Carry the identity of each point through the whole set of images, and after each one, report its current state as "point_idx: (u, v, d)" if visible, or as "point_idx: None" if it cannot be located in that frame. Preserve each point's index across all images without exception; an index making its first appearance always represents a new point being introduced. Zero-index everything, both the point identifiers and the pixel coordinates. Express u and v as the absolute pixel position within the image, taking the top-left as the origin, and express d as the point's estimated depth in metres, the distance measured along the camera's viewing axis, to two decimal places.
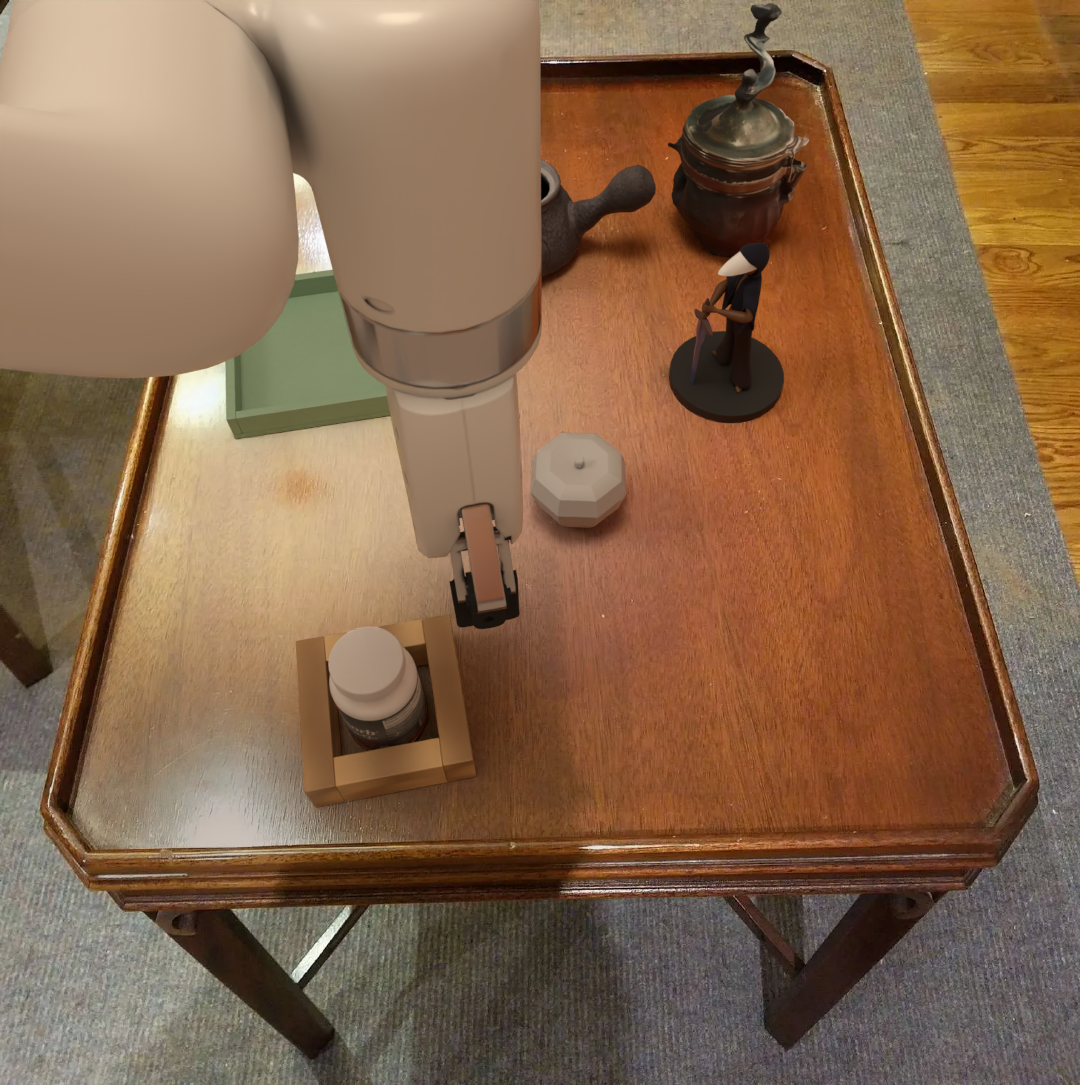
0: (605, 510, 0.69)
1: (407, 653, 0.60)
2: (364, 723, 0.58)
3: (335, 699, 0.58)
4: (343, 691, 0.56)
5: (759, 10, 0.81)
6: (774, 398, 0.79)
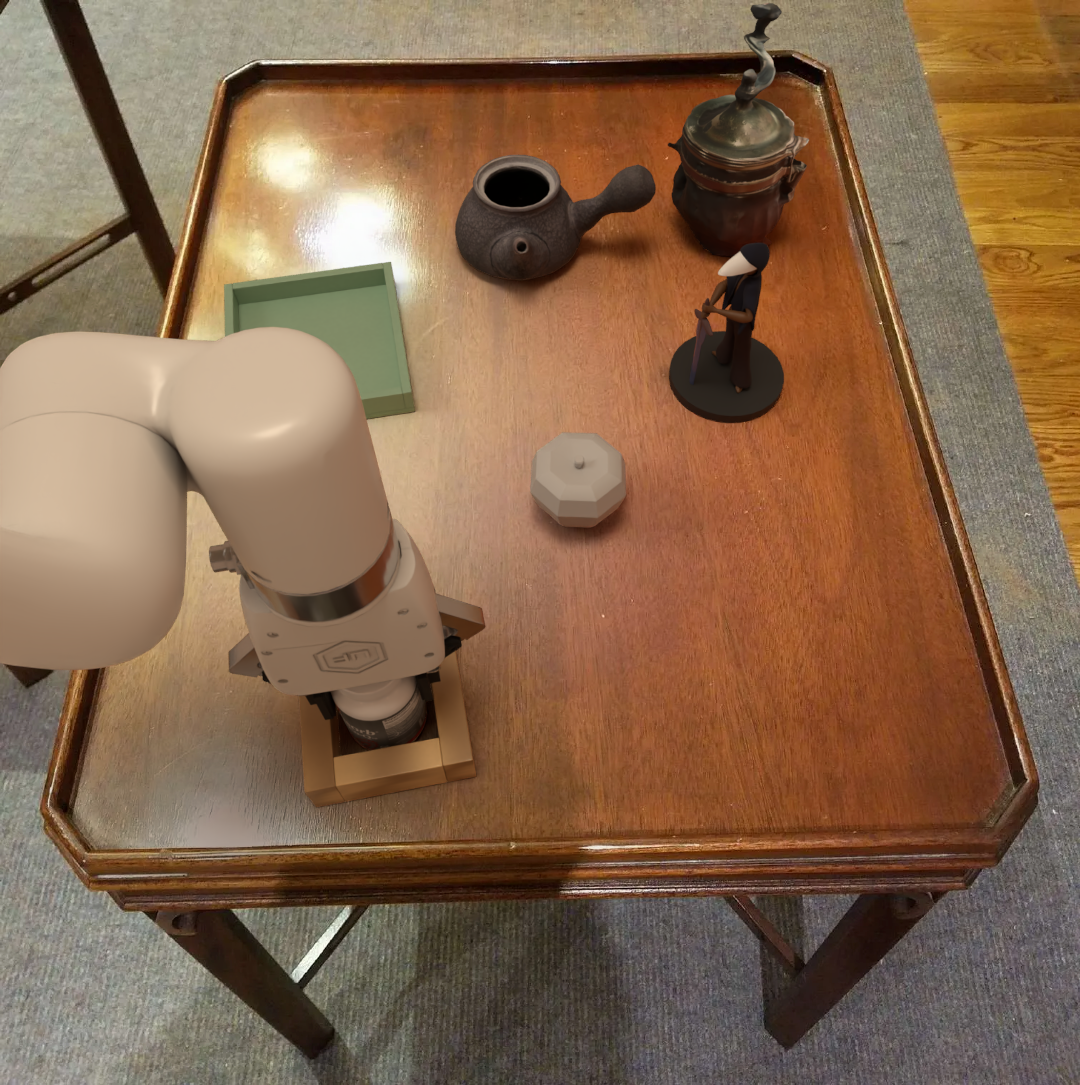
0: (605, 510, 0.69)
1: None
2: (364, 723, 0.58)
3: (335, 699, 0.58)
4: (343, 691, 0.56)
5: (759, 10, 0.81)
6: (774, 398, 0.79)
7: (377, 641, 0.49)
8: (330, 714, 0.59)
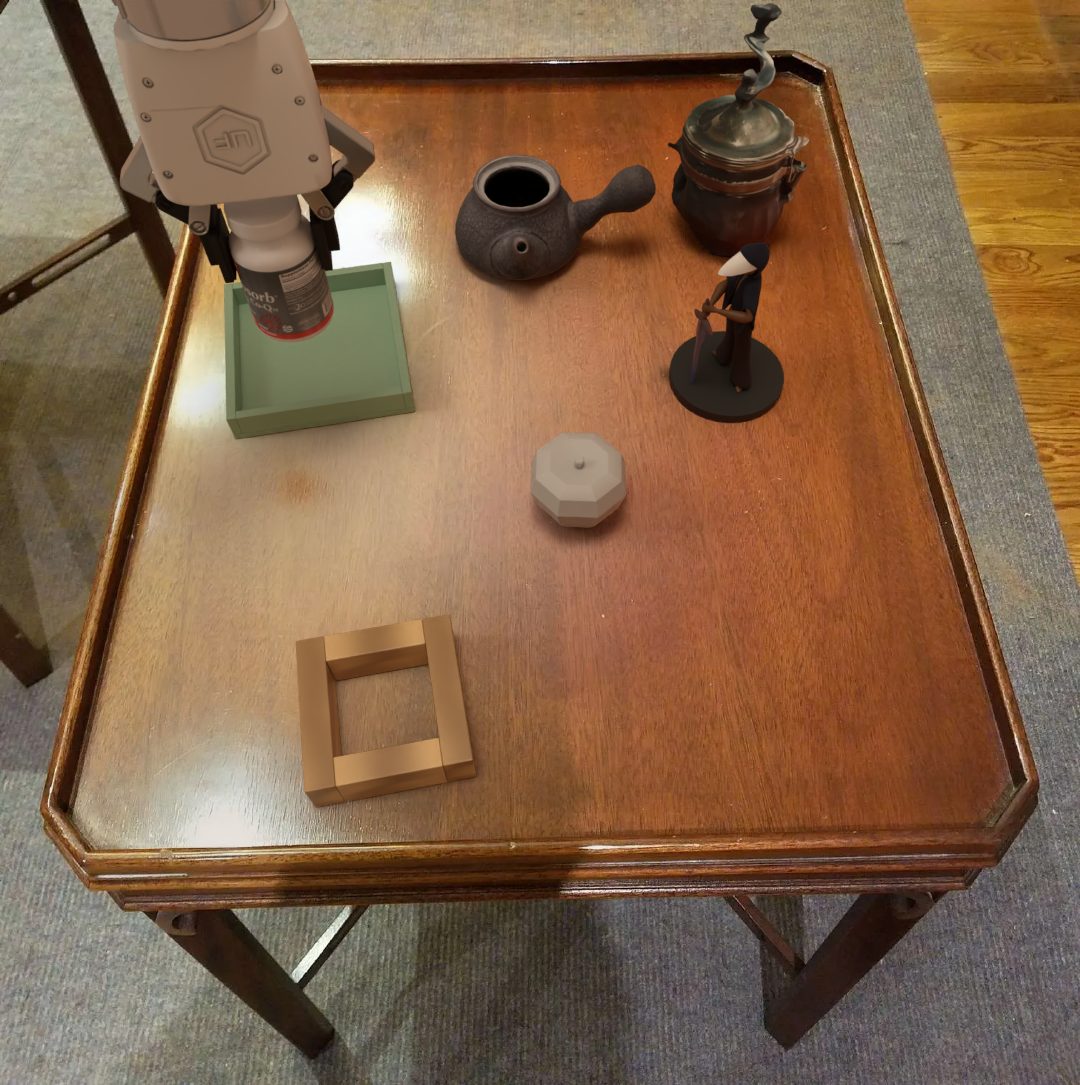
0: (605, 510, 0.69)
1: (306, 219, 0.61)
2: (261, 279, 0.59)
3: (232, 252, 0.59)
4: (236, 227, 0.57)
5: (759, 10, 0.81)
6: (774, 398, 0.79)
7: (256, 116, 0.50)
8: (229, 273, 0.60)
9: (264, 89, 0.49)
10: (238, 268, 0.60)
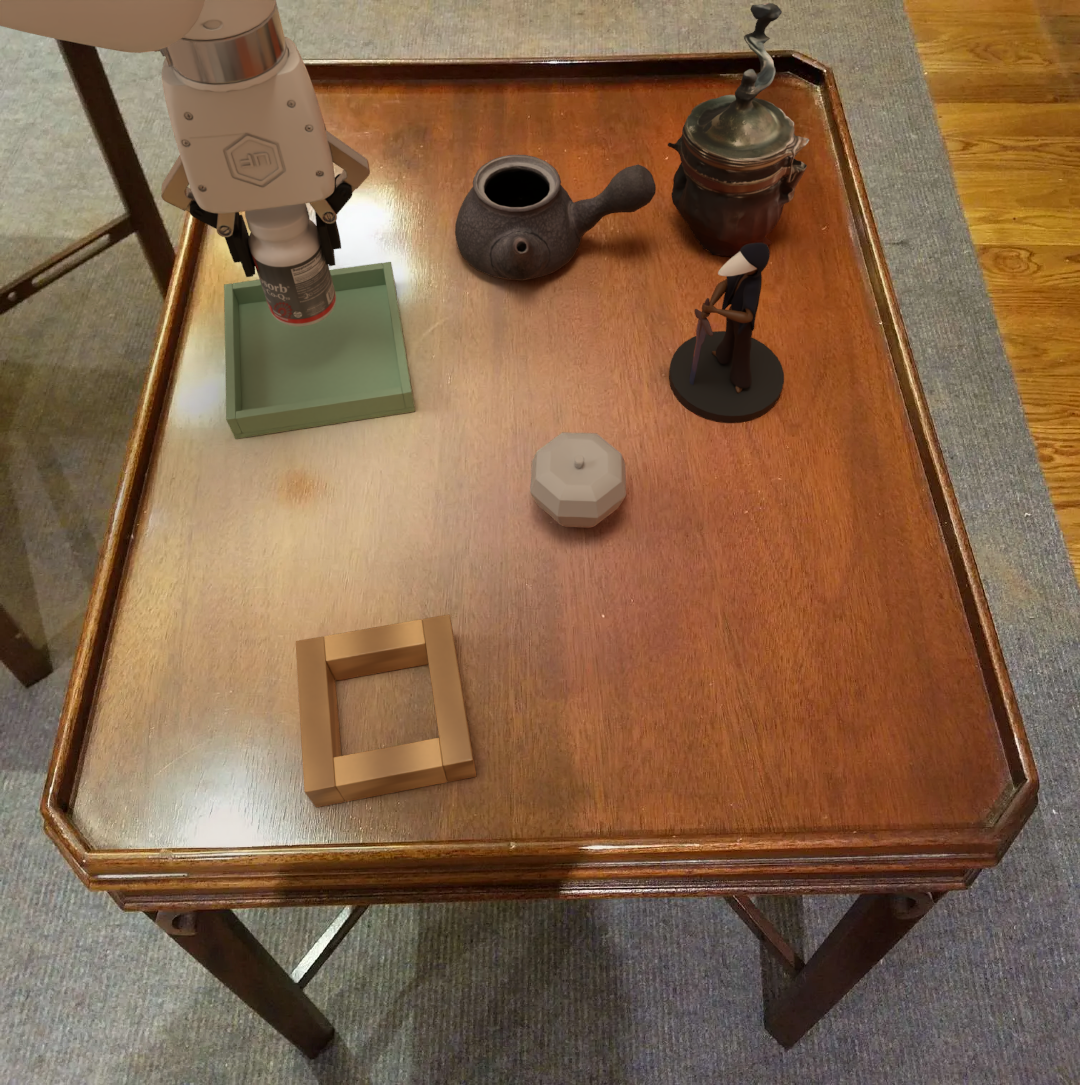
0: (605, 510, 0.69)
1: (313, 222, 0.73)
2: (276, 272, 0.72)
3: (252, 250, 0.71)
4: (256, 230, 0.69)
5: (759, 10, 0.81)
6: (774, 398, 0.79)
7: (274, 140, 0.62)
8: (249, 268, 0.72)
9: (281, 119, 0.61)
10: (257, 264, 0.72)
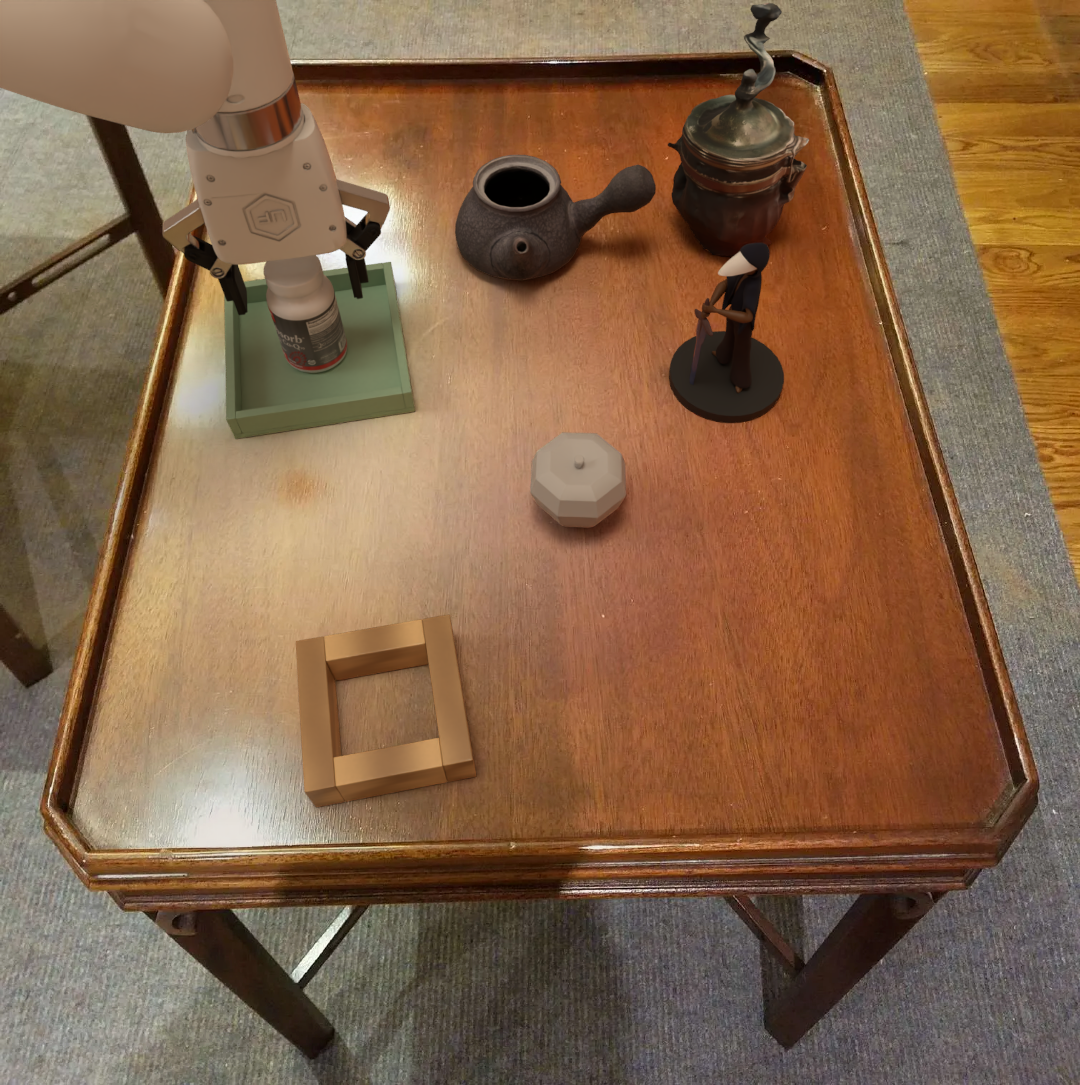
0: (605, 510, 0.69)
1: (326, 277, 0.78)
2: (292, 325, 0.76)
3: (270, 305, 0.76)
4: (274, 287, 0.74)
5: (759, 10, 0.81)
6: (774, 398, 0.79)
7: (290, 199, 0.66)
8: (242, 307, 0.75)
9: (297, 180, 0.65)
10: (274, 317, 0.77)
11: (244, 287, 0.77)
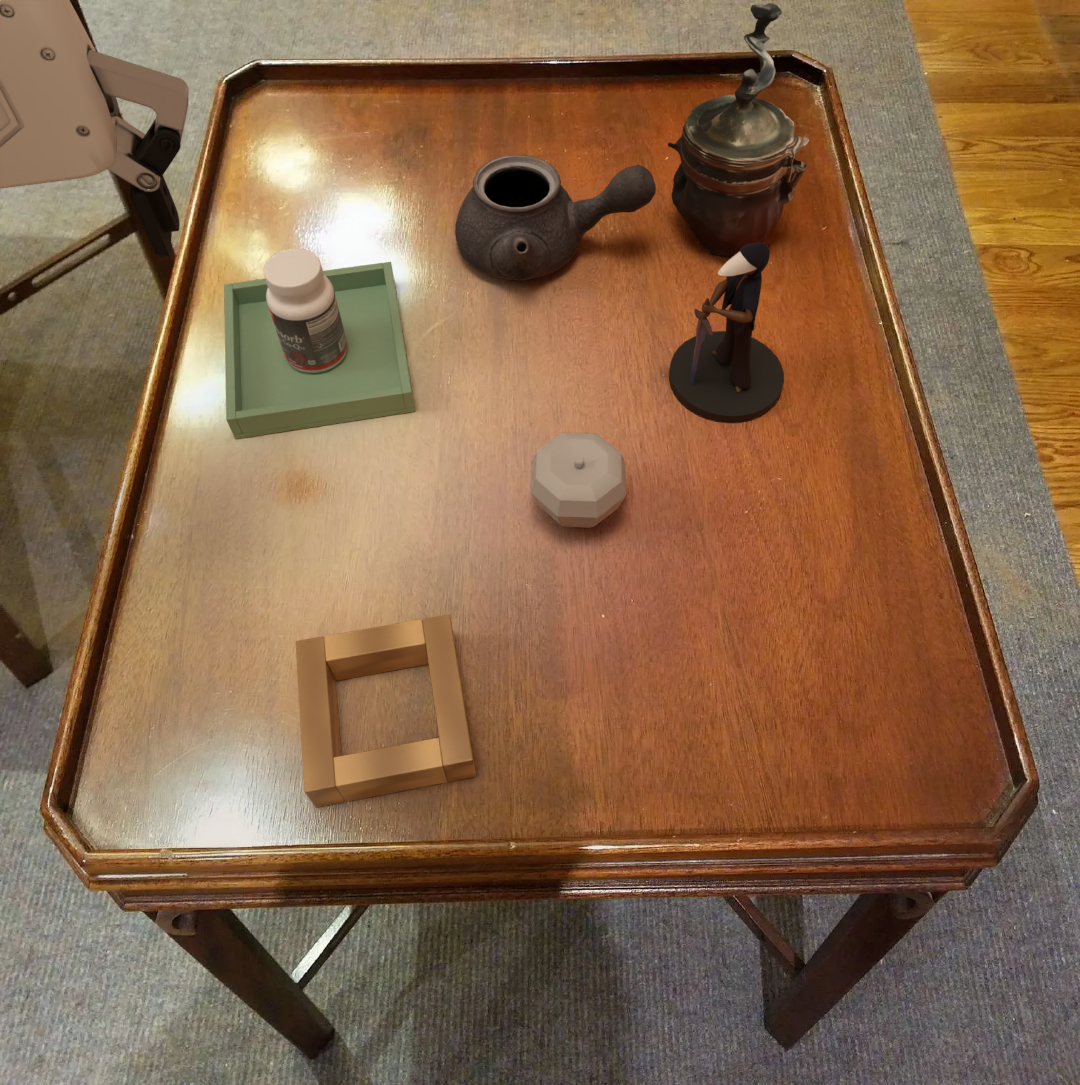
0: (605, 510, 0.69)
1: (326, 277, 0.78)
2: (292, 325, 0.76)
3: (270, 305, 0.76)
4: (274, 287, 0.74)
5: (759, 10, 0.81)
6: (774, 398, 0.79)
7: None
8: None
9: None
10: (274, 317, 0.77)
11: None
